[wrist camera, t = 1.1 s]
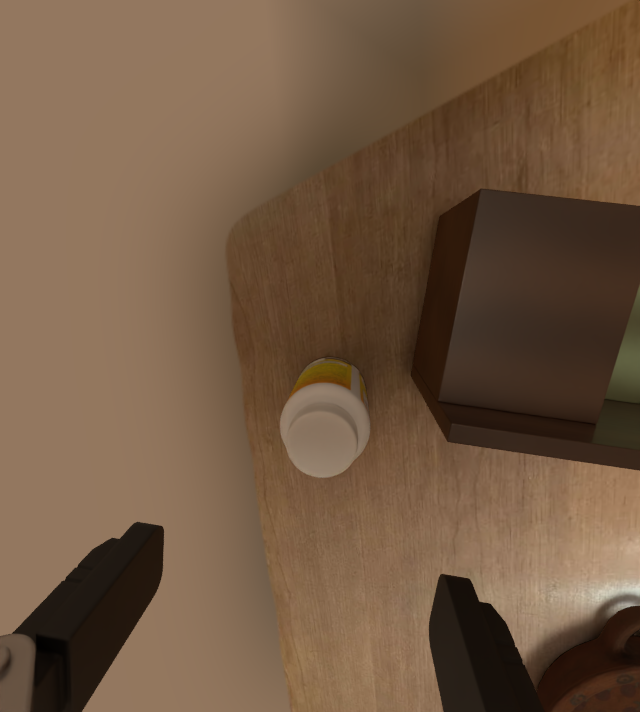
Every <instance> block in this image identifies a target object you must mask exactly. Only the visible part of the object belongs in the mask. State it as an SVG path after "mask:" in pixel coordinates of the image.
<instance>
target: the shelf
mask: <svg viewBox="0 0 640 712" xmlns="http://www.w3.org/2000/svg"><path fill="white" fill-rule="evenodd" d="M411 377H412V379H413V381H414V382H415V384H416V386H417V388H418V389H419V391H420V393H421V395H422V397H423V398H424V400H425V402H426V404H427V406H428V407H429V409H430V411H431V413H432V415H433V416H434V418H435V420H436V422H437V424H438V425H439V427H440V429H441V431H442V433H443V434H444V436H445V438H446V440H447V441H448V442H452V443H459V444H465V445H472V446H479V447H485V448H492V449H499V450H506V451H512V452H519V453H526V454H533V455H539V456H546V457H553V458H559V459H566V460H573V461H580V462H586V463H593V464H600V465H607V466H613V467H620V468H627V469H633V470H640V206H635V205H626V204H617V203H608V202H599V201H590V200H580V199H571V198H562V197H553V196H544V195H535V194H526V193H516V192H507V191H498V190H489V189H480V190H478V191H477V192H475V193H474V194H472V195H471V196H469V197H468V198H466V199H465V200H463V201H462V202H460V203H459V204H457V205H456V206H454V207H453V208H451V209H450V210H448V211H447V212H445V213H444V214H442V215H441V216H440V217H439V223H438V228H437V234H436V239H435V245H434V250H433V256H432V261H431V267H430V272H429V278H428V283H427V289H426V294H425V300H424V305H423V311H422V316H421V322H420V327H419V333H418V338H417V344H416V349H415V355H414V360H413V366H412V371H411Z"/></svg>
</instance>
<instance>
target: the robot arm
mask: <svg viewBox="0 0 640 712" xmlns="http://www.w3.org/2000/svg"><path fill="white" fill-rule="evenodd" d="M163 545H164V529H163V527H162V526H159V525H153V524H147V523H140V522H136V523H134V524H133V525H132V526H131V527H130V528H129V529H128V530H127V531H126V533H125V534H124V535H123V536H122V537H121V538H120V539H116V538H111V539H109V540H107V541H106V542H104V543H103V544H101V545H100V546H98V547H96V548H94V549H93V550H92V551H91V552H90V553H89V554H88V555H87V556H86V557H85V558H84V559H83V560H82V561H81V562H80V563H79V565H78V567H77V568H75V569H74V570H73V571H72V572H71V573H70V574H69V575H68V576H67V577H66V579H65V581H62V582H61V583H60V584H59V585H58V586H57V587H56V588H55V589H54V590H53V591H52V593H51V594H50V595H49V596H48V597H47V598H46V599H45V600H44V601H43V602H42V603H41V604H40V605H39V606H38V607H37V608H36V609H35V610H34V611H33V612H32V614H31V615H30V616H29V617H28V618H27V619H26V620H25V621H24V622H23V623H22V624H21V625H20V626H19V627H18V628H17V629H16V630H15V631H14V632H13V633H12V634H8V635H3V636H0V712H82V710H83V709H84V707H85V705H86V704H87V702H88V701H89V699H90V698H91V696H92V694H93V693H94V691H95V690H96V688H97V686H98V685H99V683H100V682H101V680H102V678H103V677H104V675H105V674H106V672H107V670H108V669H109V667H110V666H111V664H112V662H113V661H114V659H115V658H116V656H117V654H118V653H119V651H120V650H121V648H122V646H123V645H124V643H125V642H126V640H127V638H128V637H129V635H130V634H131V632H132V630H133V629H134V627H135V626H136V624H137V622H138V621H139V619H140V618H141V616H142V615H143V613H144V611H145V610H146V608H147V607H148V605H149V603H150V602H151V600H152V598H153V597H154V595H155V593H156V591H157V589H158V587H159V584H160V580H161V577H162V571H163ZM429 641H430V648H431V652H432V657H433V662H434V667H435V672H436V677H437V682H438V686H439V691H440V696H441V701H442V706H443V711H444V712H545V711H544V709H543V706H542V704H541V702H540V699H539V697H538V695H537V693H536V690H535V688H534V686H533V684H532V681H531V679H530V677H529V674H528V672H527V670H526V668H525V665H523V663H522V658H521V656H520V654H519V652H518V649H517V647H515V642H514V640H513V638H512V636H511V633H510V631H509V629H508V626H507V624H506V622H505V621H504V620H503V619H502V617H501V616H500V615H499V614H498V613H497V611H496V610H495V609H494V608H493V606H492V605H491V604H489V603H483V602H479V600H478V597H477V595H476V592H475V589H474V587H473V584H472V582H471V580H470V579H468V578H463V577H457V576H451V575H445V574H441V575H440V577H439V580H438V584H437V588H436V593H435V597H434V602H433V606H432V611H431V615H430V621H429Z"/></svg>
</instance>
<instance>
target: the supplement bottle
mask: <svg viewBox="0 0 640 712" xmlns="http://www.w3.org/2000/svg"><path fill="white" fill-rule="evenodd" d="M280 432H281V437H282V440H283V442H284V444H285V446H286V449H287V453H288V455H289V458H290V459H291V461H292V462H293V464H294V465H295V466H296V467H297V468H298V469H299V470H301V471H302V472H304V473H305V474H307V475H310V476H314V477H319V478H327V477H332V476H336V475H338V474H340V473H342V472H343V471H345V470H346V469H347V468H348V467H349V466H350V465H351V464H352V462H353V461H354V460H355V459H356V458H357V457H358V456H359V455H360V454H361V453H362V452H363V450H364V449H365V447H366V445H367V442H368V439H369V435H370V416H369V408H368V399H367V392H366V385H365V381H364V379H363V377H362V375H361V373H360V372H359V370H358V369H357V368H356V367H355V366H354V365H352V364H351V363H349V362H347V361H345V360H343V359H340V358H334V357H327V358H322V359H318V360H316V361H314V362H312V363H311V364H309V365H308V366H307V367H306V368H305V369H304V370H303V371H302V373H301V374H300V376H299V378H298V380H297V382H296V384H295V386H294V388H293V390H292V392H291V394H290V396H289V398H288V400H287V402H286V404H285V406H284V409H283V411H282V414H281V419H280Z"/></svg>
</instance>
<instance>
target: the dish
mask: <svg viewBox="0 0 640 712" xmlns="http://www.w3.org/2000/svg"><path fill="white" fill-rule="evenodd" d="M638 630H640V606H632V607H628V608H625V609H623V610H620V611H618V612H617V613H616V614H615V615H613V616H612V617H611V618H610V619H609V620H608V622H607V624H606V625H605V627H604V629H603V631H602V633H601V634H600V636H599V637H598V638H597V639H594V640H591V641H588V642H586V643H583V644H581V645H578V646H576V647H574V648H572V649H571V650H569V651H567V652H566V653H564V654H562V655H561V656H560V657H559V658H558V659H557V660H556V661H555V662H554V663H553V664H552V665H551V666H550V667H549V669H548V670H547V671H546V673H545V674H544V676H543V678H542V680H541V682H540V684H539V687H538V690H537V695H538V697H539V699H540V702H541V704H542V706H543V709H544V711H545V712H640V636H631V635H632V634H634V633H635V632H636V631H638Z"/></svg>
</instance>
